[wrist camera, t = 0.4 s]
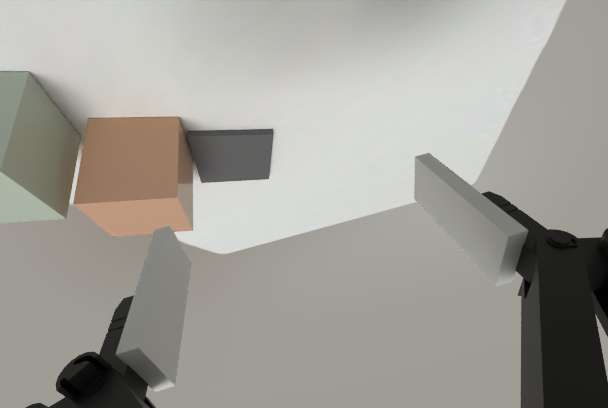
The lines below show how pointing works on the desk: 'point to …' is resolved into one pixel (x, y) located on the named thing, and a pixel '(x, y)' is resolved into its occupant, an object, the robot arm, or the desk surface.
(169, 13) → the desk surface
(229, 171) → the coaster
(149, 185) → the peach salmon cube
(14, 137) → the sage green cube
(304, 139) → the desk surface
